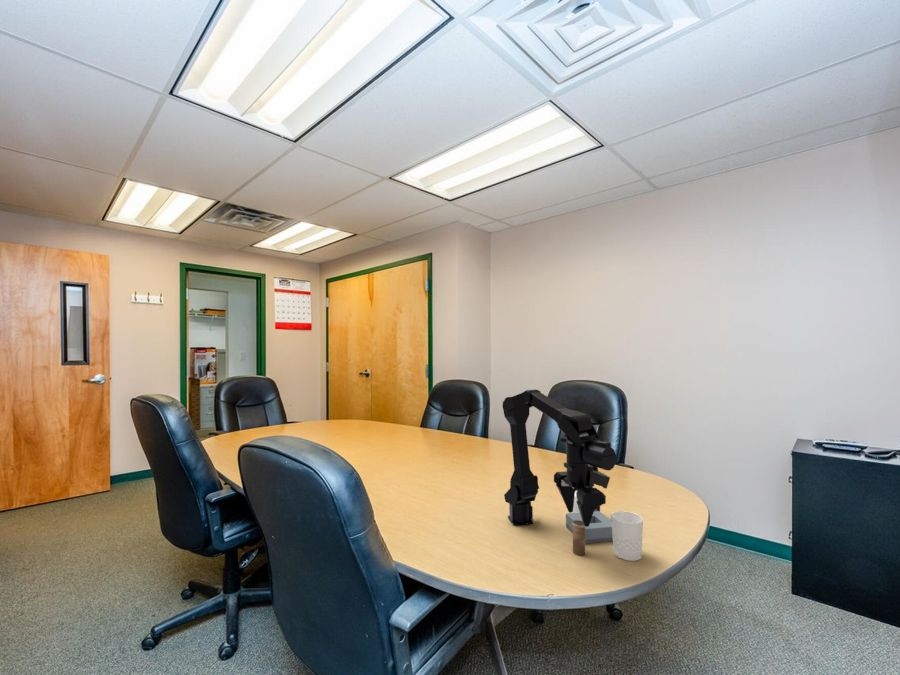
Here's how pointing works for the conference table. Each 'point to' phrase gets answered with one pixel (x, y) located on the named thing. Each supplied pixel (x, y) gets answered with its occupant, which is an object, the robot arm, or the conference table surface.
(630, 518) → the white cup
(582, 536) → the pin
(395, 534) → the conference table surface
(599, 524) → the socket block
